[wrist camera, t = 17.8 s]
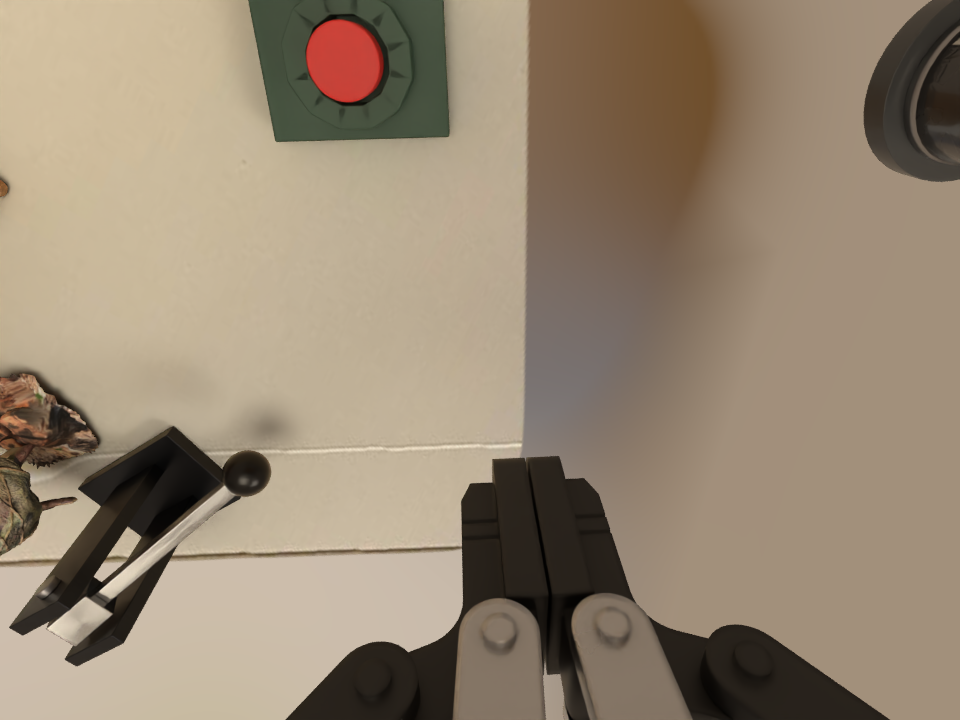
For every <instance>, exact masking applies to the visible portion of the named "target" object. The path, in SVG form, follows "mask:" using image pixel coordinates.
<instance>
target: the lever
mask: <svg viewBox="0 0 960 720" xmlns="http://www.w3.org/2000/svg"><path fill="white" fill-rule="evenodd" d="M270 477H271V467H270V464H269V462H268V460H267V459H266V457H265V456H263V455H262V454H260V453H258V452H256V451H251V450H246V451H241V452H238V453H236V454H234V455H233V456H231V457H230V458H229V459H228V460H227V462H226V463H225V465H224V467H223V470H222V480H223V481H222V482H221V483H220V484H219V485H218V486H216V487H215V488H214V489H213V490H212V491H210V492H209V493H208V494H207V495H206V496H204V497H203V498H202V499H201V500H200V501H198V502H197V503H196V504H195V505H194V506H192V507H191V508H190V509H189V510H188V511H186V512H185V513H184V514H183V515H182V516H180V517H179V518H178V519H177V520H176V521H174V522H173V523H172V524H171V525H170V526H168V527H167V528H166V529H165V530H164V531H162V532H161V533H160V534H159V535H158V536H156V537H155V538H154V539H153V540H152V541H150V542H149V543H148V544H147V545H146V546H144V547H143V548H142V549H141V550H140V551H139V552H137V553H136V554H135V555H134V556H133V557H131V558H130V559H129V560H128V561H127V562H125V563H124V564H123V565H122V566H121V567H119V568H118V569H117V570H116V571H115V572H113V573H112V574H111V575H110V576H109V577H107V578H106V579H105V580H104V581H103V582H100V581H99V580H97V579H96V578H94V577H93V578H92V580H91V581H90V582H89V584H88V585H87V587H86V588H85V590H84V591H83V593H82V594H81V596H80V597H79V599H78V600H77V602H76V603H75V605H74V606H73V608H72V609H71V610H70V611H68V612H66V613H64V614H62V615H60V616H59V617H57V618H55V619H53V620H51V621H49V623H48V626H47V630H49V631H50V632H52V633H53V634H55V635H57V636H58V637H60V638H62V639H64V640H65V641H67V642H69V643H70V644H72V645H73V646H77V645H78V644H79V643H80V642H82V641H83V640H84V639H85V638H86V637H87V636H89V635H90V634H91V633H92V632H93V631H94V630H96V629H97V628H98V627H99V626H100V625H102V624H103V623H104V622H105V621H106V620H107V619H109V618H110V617H111V616H112V615H113V613H114V609H115V604H116V600H117V595H119V594H120V593H121V592H122V591H123V590H124V589H126V588H127V587H128V586H129V585H130V584H132V583H133V582H134V581H135V580H136V579H137V578H139V577H140V576H141V575H142V574H143V573H145V572H146V571H147V570H148V569H149V568H150V567H152V566H153V565H154V564H155V563H156V562H158V561H159V560H160V559H161V558H162V557H163V556H165V555H166V554H167V553H168V552H169V551H171V550H172V549H173V548H174V547H175V546H176V545H178V544H179V543H180V542H181V541H182V540H184V539H185V538H186V537H187V536H188V535H189V534H191V533H192V532H193V531H194V530H195V529H197V528H198V527H199V526H200V525H201V524H202V523H204V522H205V521H206V520H207V519H208V518H210V517H211V516H212V515H213V514H214V513H215V512H217V511H218V510H219V509H220V508H221V507H223V506H224V505H225V504H226V503H227V502H228V501H230V500H231V499H232V498H233V497H234V496H236V495H237V496H242V497H247V496H252V495H255V494H257V493H259V492H260V491H262V490H263V489H264V488H265V487H266V486H267V484H268V482H269V480H270Z"/></svg>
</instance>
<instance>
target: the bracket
mask: <svg viewBox="0 0 960 720" xmlns="http://www.w3.org/2000/svg"><path fill="white" fill-rule="evenodd" d="M222 481H223V480H222V469H221V468H220V467H219V466H217V465H216V464H215V463H214V462H213V461H212V460H211V459H210V458H208V457H207V456H206V455H205V454H204V453H203V452H202V451H201V450H199V449H198V448H197V447H196V446H195V445H194V444H193V443H192V442H190V441H189V440H188V439H187V438H186V437H185V436H184V435H183V434H181V433H180V432H179V431H178V430H177V429H176V428H175V427H171V428H169V429H168V430H166V431H164V432H163V433H161V434H159V435H158V436H156V437H154V438H153V439H151V440H150V441H148V442H146V443H145V444H143V445H141V446H140V447H138V448H136V449H135V450H133V451H131V452H130V453H128V454H126V455H125V456H123V457H121V458H120V459H118V460H117V461H115V462H113V463H112V464H110V465H108V466H107V467H105V468H103V469H102V470H100V471H98V472H97V473H95V474H93V475H92V476H90V477H88V478H87V479H86V480H85V481H84V482H83V483H82V484H81V485H80V487H79V488H78V489H79V490H80V491H81V492H83V493H84V494H85V495H87V496H88V497H89V498H91V499H92V500H93V501H95V502H96V503H97V504H99V505H100V506H101V507H100V509H99V510H98V511H97V513H96V514H95V515H94V517H93V518H92V519H91V521H90V522H89V523H88V525H87V526H86V527H85V528H84V530H83V531H82V532H81V534H80V535H79V536H78V538H77V539H76V540H75V542H74V543H73V544H72V545H71V547H70V548H69V549H68V551H67V552H66V553H65V555H64V556H63V557H62V559H61V560H60V561H59V563H58V564H57V565H56V566H55V568H54V569H53V570H52V572H51V573H50V574H49V576H48V577H47V578H46V580H45V581H44V582H43V583H42V584H41V585H40V587H39V588H38V589H37V590H36V592H35V594H34V595H33V597H32V598H31V599H30V601H29V602H28V603H27V605H26V606H25V607H24V608H23V610H22V611H21V612H20V614H19V615H18V616H17V618H16V619H15V620H14V622H13V623H12V624H11V626H10V627H9V628H10V629H12V630H14V631H16V632H17V633H19V634H21V635H25V634H27V633H29V632H30V631H32V630H34V629H36V628H38V627H40V626H41V625H44V624H45V623H47V622H49V621H51V620H53V619H55V618H57V617H59V616H60V615H62V614H64V613H66V612H68V611H70V610H71V609H72V608H73V606H74V605H75V603H76V602H77V600H78V599H79V597H80V596H81V594H82V593H83V591H84V590H85V588H86V587H87V585H88V584H89V582H90V581H91V580H92V578H93V577H94V575H95V573H96V572H97V571H98V569H99V568H100V566H101V565H102V563H103V562H104V560H105V559H106V557H107V556H108V554H109V553H110V551H111V550H112V549H113V547H114V546H115V544H116V543H117V541H118V540H119V538H120V537H121V535H122V534H123V532H124V531H125V529H126V528H127V526H128V527H129V528H131V529H132V530H133V531H135V532H136V533H137V534H139V535H140V536H141V537H142V538H141V539H140V541H139V542H138V544H137V546H136V547H135V549H134V550H133V552H132V553H131V555H130V557H129V558H128V560H129V559H130V558H131V557H133V556H134V555H135V554H136V553H137V552H139V551H140V550H141V549H142V548H143V547H144V546H146V545H147V544H148V543H149V542H150V541H152V540H153V539H154V538H155V537H156V536H158V535H159V534H160V533H161V532H162V531H164V530H165V529H166V528H167V527H168V526H170V525H171V524H172V523H173V522H174V521H176V520H177V519H178V518H179V517H180V516H182V515H183V514H184V513H185V512H186V511H188V510H189V509H190V508H191V507H192V506H194V505H195V504H196V503H197V502H198V501H200V500H201V499H202V498H203V497H204V496H206V495H207V494H208V493H209V492H210V491H212V490H213V489H214V488H215V487H216V486H218V485H219V484H220V483H221V482H222ZM240 498H241V496H237V495H236V496H234V497H233V498H232V499H231V500H230V501H228V502H227V503H226V504H225V505H224V506H223V507H221V508H220V509H219V510H221V509H223V508H224V507H226V506H228V505H230V504H232V503H234V502H235V501H237V500H239V499H240ZM219 510H218V511H219ZM177 546H178V545H176V546H175V547H174V548H173V549H172V550H171V551H169V552H168V553H167V554H166V555H165V556H163V557H162V558H161V559H160V560H159V561H158V562H156V563H155V564H154V565H153V566H152V567H150V568H149V569H148V570H147V571H146V572H145V573H143V574H142V575H141V576H140V577H139V578H137V579H136V580H135V581H134V582H133V583H132V584H130V585H129V586H128V587H127V588H126V589H124V590H123V591H122V592H121V593H120V594H119V595H117V600H116V604H115V609H114V613H113V615H112V616H111V617H110V618H109V619H107V620H106V621H105V622H104V623H103V624H102V625H100V626H99V627H98V628H97V629H96V630H94V631H93V632H92V633H91V634H90V635H89V636H87V637H86V638H85V639H84V640H83V641H82V642H80V643H79V644H78V645H77V646H73V647H72V648H71V650H70V651H69V653H68V655H67V656H66V658H65V660H66V661H68V662H70V663H71V664H73V665H75V666H79V665H81V664H83V663H85V662H87V661H89V660H91V659H93V658H95V657H97V656H99V655H101V654H103V653H105V652H107V651H109V650H111V649H113V648H115V647H117V646H119V645H121V644H123V643H124V641H125V640H126V638H127V636H128V634H129V633H130V631H131V629H132V627H133V625H134V624H135V622H136V620H137V618H138V616H139V614H140V613H141V611H142V609H143V607H144V605H145V604H146V602H147V600H148V598H149V596H150V595H151V593H152V591H153V589H154V587H155V585H156V584H157V582H158V580H159V578H160V576H161V575H162V573H163V571H164V569H165V567H166V565H167V564H168V562H169V560H170V558H171V556H172V555H173V553H174V551H175V549H176V547H177ZM128 560H127V561H128ZM127 561H126V562H127Z"/></svg>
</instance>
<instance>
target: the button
mask: <svg viewBox="0 0 960 720" xmlns="http://www.w3.org/2000/svg"><path fill="white" fill-rule="evenodd" d="M306 61H307V67H308V71H309V74H310V76H311V78H312V80H313V81H314V83H315V84H316V86H317V87H318V88H319V89H320V90H321V91H322V92H323V93H324V94H325V95H327V96H328V97H330V98H332V99H334V100H337V101H340V102H355V101H358V100H361V99H363V98H364V97H366V96H368V95H369V94H371V93H372V92H373V91H374V90H375V89H376V88H377V86H378V85H379V83H380V81H381V78H382V75H383V69H384V60H383V54H382V51H381V48H380V46H379V44H378V42H377V40H376V39H375V37H374V36H373V35H372V34H371V32H370V31H368V30H367V29H366V28H365V27H363V26H362V25H360V24H358V23H355V22H352V21H347V20H341V19H337V20H331V21H327V22H325V23H323V24H322V25H320V26H319V27H318V28H317V29H316V30H315V31H314V32H313V34H312V35H311V37H310V39H309V42H308V45H307V50H306Z"/></svg>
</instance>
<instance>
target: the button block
mask: <svg viewBox="0 0 960 720" xmlns="http://www.w3.org/2000/svg"><path fill="white" fill-rule="evenodd" d="M248 1H249V6H250V12H251V17H252V22H253V27H254V32H255V38H256V43H257V48H258V53H259V58H260V64H261V69H262V74H263V79H264V84H265V89H266V95H267V100H268V105H269V110H270V115H271V121H272V126H273V131H274V136H275V141H276V142H290V141H324V140H358V139H393V138H427V137H448V136H449V110H448V89H447V67H446V45H445V23H444V1H443V0H248ZM337 19H341V20H347V21H352V22H355V23H358V24H360V25H362V26H363V27H365V28H366V29H367V30H368V31H370V32H371V34H372V35H373V36H374V37H375V39H376V40H377V42H378V44H379V46H380V48H381V51H382V54H383V60H384V69H383V75H382V78H381V81H380V83H379V85H378V86H377V88H376V89H375V90H374V91H373V92H372V93H371V94H369V95H368V96H366V97H364V98H363V99H361V100H358V101H355V102H340V101H337V100H334V99H332V98H330V97H328V96H327V95H325V94H324V93H323V92H322V91H321V90H320V89H319V88H318V87H317V86H316V84H315V83H314V81H313V80H312V78H311V76H310V74H309V71H308V67H307V61H306V50H307V45H308V42H309V39H310V37H311V35H312V34H313V32H314V31H315V30H316V29H317V28H318V27H319V26H320V25H322V24H323V23H325V22H327V21H331V20H337Z"/></svg>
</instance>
